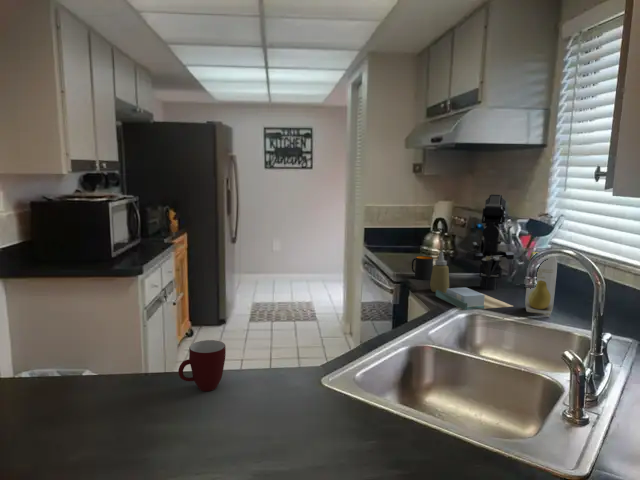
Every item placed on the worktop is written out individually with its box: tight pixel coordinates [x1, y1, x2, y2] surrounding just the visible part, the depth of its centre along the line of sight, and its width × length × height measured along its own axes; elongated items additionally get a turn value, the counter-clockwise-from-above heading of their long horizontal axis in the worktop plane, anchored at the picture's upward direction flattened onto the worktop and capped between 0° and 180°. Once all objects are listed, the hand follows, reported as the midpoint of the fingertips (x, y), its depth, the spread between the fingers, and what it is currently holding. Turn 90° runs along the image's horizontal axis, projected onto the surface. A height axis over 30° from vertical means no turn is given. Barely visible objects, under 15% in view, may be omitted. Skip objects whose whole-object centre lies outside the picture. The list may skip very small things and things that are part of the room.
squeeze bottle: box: [429, 251, 450, 293], centre depth 197 cm, size 8×8×18 cm
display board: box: [435, 290, 514, 311], centre depth 184 cm, size 22×20×4 cm
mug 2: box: [411, 255, 434, 281], centre depth 229 cm, size 8×12×10 cm
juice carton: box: [524, 251, 558, 318], centre depth 171 cm, size 9×8×24 cm
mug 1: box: [177, 339, 227, 392], centre depth 106 cm, size 10×8×10 cm
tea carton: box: [446, 287, 486, 306], centre depth 183 cm, size 9×12×4 cm
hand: (488, 276), depth 184 cm, fingers closed
